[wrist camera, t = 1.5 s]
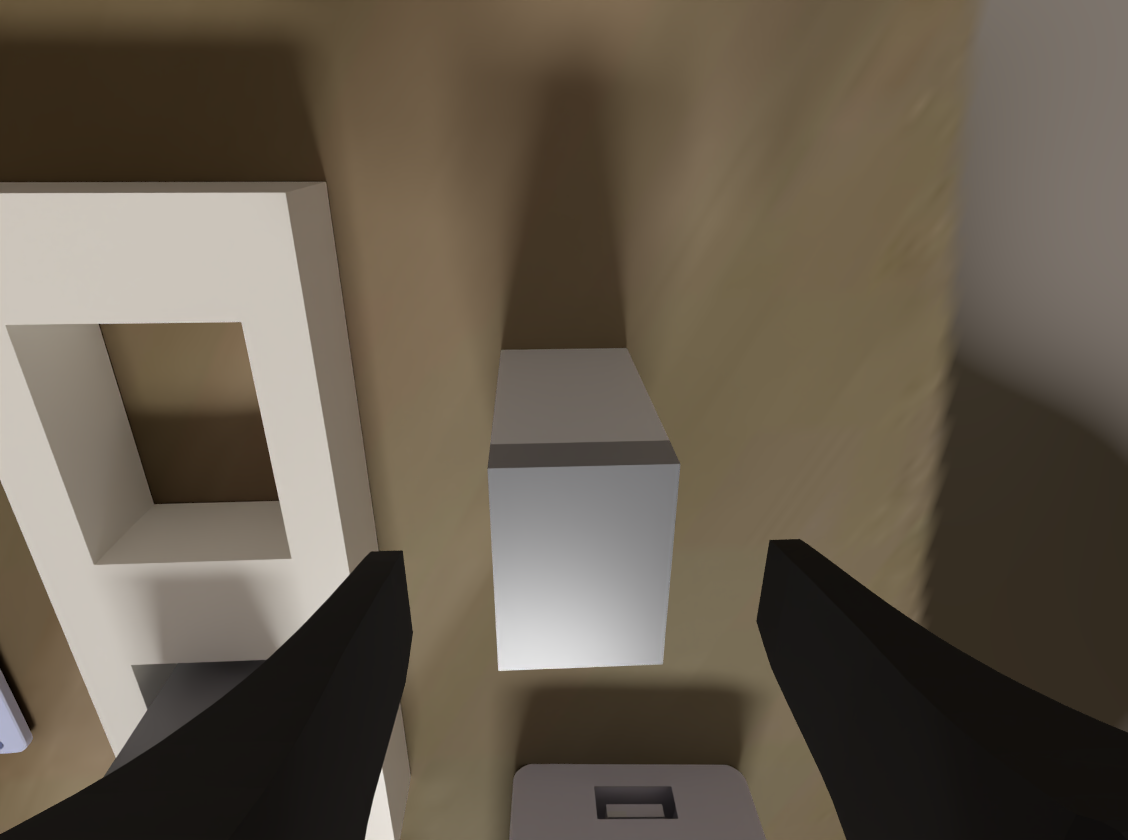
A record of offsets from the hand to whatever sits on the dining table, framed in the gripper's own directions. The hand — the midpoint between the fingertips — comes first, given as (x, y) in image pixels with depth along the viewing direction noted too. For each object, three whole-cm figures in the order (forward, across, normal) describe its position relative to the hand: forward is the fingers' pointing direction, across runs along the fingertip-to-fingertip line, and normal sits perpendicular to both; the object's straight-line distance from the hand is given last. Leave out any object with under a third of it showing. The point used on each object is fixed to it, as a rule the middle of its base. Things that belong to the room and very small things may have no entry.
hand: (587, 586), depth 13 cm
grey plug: (+7, 0, 0) cm, 7 cm away
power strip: (+7, +10, +4) cm, 13 cm away
